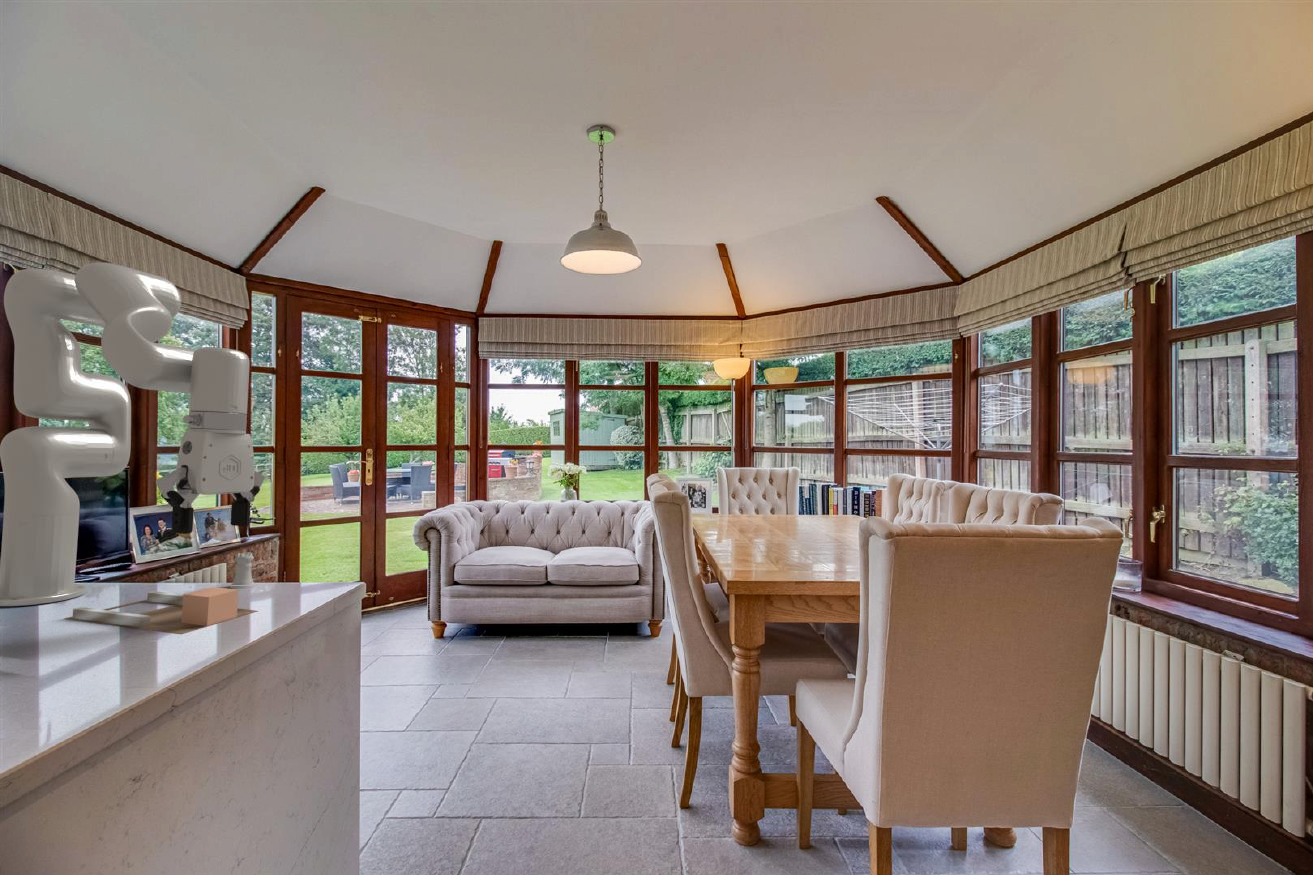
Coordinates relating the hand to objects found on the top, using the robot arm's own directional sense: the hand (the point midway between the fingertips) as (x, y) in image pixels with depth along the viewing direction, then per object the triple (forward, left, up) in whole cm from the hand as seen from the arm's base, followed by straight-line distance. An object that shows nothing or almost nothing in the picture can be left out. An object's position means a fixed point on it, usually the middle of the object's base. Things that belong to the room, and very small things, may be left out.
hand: (212, 529), depth 92 cm
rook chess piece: (-14, +19, -16) cm, 29 cm away
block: (0, 0, -15) cm, 15 cm away
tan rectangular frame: (-8, 0, -16) cm, 18 cm away
